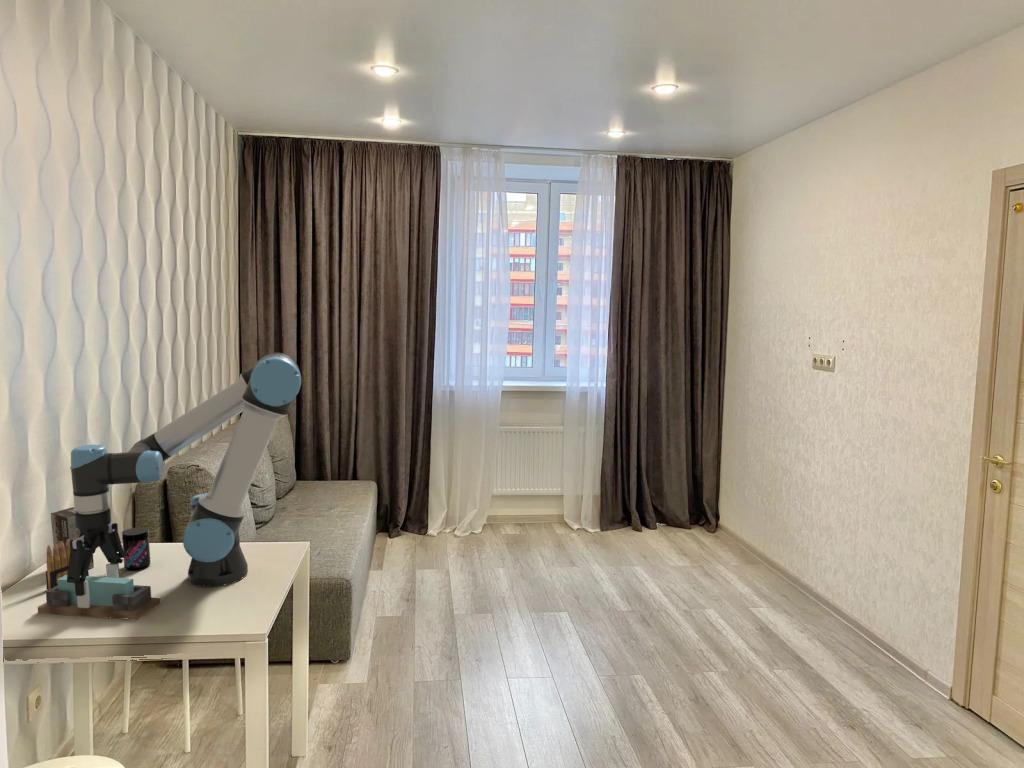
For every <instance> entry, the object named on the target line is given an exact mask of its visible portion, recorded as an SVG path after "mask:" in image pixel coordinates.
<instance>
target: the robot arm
mask: <svg viewBox="0 0 1024 768" xmlns="http://www.w3.org/2000/svg"><path fill="white" fill-rule="evenodd" d="M301 386H302V375H301V370H300V367H299V365H298V364H297V362H296V360H295V359H294V358H292V357H291V356H290V355H288V354H285V353H282V352H270V353H267V354H266V355H264V356H262V357H261V358H260V359H259V360H257V362H256V363H254V364H253V365H252V366H250V367H249V368H248V369H246V370H245V371H243V372H242V373H240V375H239V379H237V380H236V381H235V382H233V383H231V384H230V385H228V386H226V387H225V388H224V389H222V390H220V391H219V392H217V393H216V394H213V395H212V396H211V397H208V399H205V400H204V401H203V402H201V403H199V404H198V405H197V406H195V407H193V408H192V409H190V410H189V411H187V412H184V413H183V414H182V415H181V416H179V417H177V418H175V419H174V420H173V421H171V422H169V423H167V424H166V425H164V426H162V427H161V428H159V429H158V430H156V431H155V432H154V433H151V434H150V435H148V436H146V437H145V438H143V439H139V440H138V441H137V442H136V443H134V444H133V445H132V446H131V448H130V449H129V450H128V451H127V452H126V451H125V452H113V453H112V452H108V451H107V448H106V446H105V445H103V444H85V445H84V444H83V445H80V446H76V447H74V448H73V449H72V450H71V451H70V474H71V481H72V482H71V483H72V494H73V506H74V507H73V508H74V509H75V511H77V512H76V513H75V525H76V527H77V528H78V529H79V530H80V535H79V538H78V539H76V540H70V542H69V544H70V557H69V566H68V574H67V582H68V583H74V584H75V593H76V596H77V604H78V608H89V607H90V596H89V583H88V581H85V580H86V576H87V572H89V565H90V561H91V558H92V554H93V555H94V554H95V553H96V551H97V549H98V548H99V549H100V550H101V552H102V554H103V555H104V557H105V559H106V560H107V562H108V563H107V564H105V570H106V577H112V578H120V576H119V575H120V566H119V564H122V563H124V556H125V555H124V551H123V543H122V540H121V538H120V534H119V531H118V529H119V527H118V525H119V524H118V523H116V522H112V512H111V509H110V507H111V497H110V487H109V485H123V484H127V485H128V484H148V483H151V482H158V481H160V480H161V479H162V478H163V473H164V462H165V461H167V460H168V459H170V458H171V457H173V456H175V455H176V454H178V453H179V452H181V451H183V450H184V449H185V448H187V447H188V446H190V445H191V444H193V443H195V442H197V441H198V440H200V439H201V438H203V437H204V436H206V435H207V434H209V433H211V432H213V431H215V430H216V429H217V428H219V427H220V426H222V425H223V424H225V423H226V422H229V421H230V420H231V419H233V418H235V417H236V416H238V415H239V414H241V416H240V418H239V421H238V422H237V425H236V427H235V429H234V432H233V434H232V436H231V439H230V441H229V443H228V446H227V448H226V451H225V454H224V456H223V458H222V461H221V463H220V465H219V467H218V470H217V472H216V474H215V477H214V478H213V482H212V483H211V487H210V488H209V491H208V492H206V493H200V494H197V495H194V496H192V497H191V500H190V505H189V507H190V508H191V509H190V510H191V516H190V519H189V521H188V524H187V526H186V528H185V529H184V531H183V535H182V545H183V549H184V550H185V552H186V553H187V554H188V556H189V557H191V559H190V560H191V561H190V563H189V566H188V570H187V579H188V583H190V584H191V585H193V586H196V587H205V588H206V587H220V586H224V584H226V585H230V584H232V582H233V583H235V582H234V581H236V582H238V581H240V580H242V579H243V578H242V577H244V576H245V575H246V574H247V572H248V573H249V568H248V567H249V565H248V562H247V559H246V558H245V555H244V552H243V549H242V547H241V543H240V542H241V541H240V540H241V539H240V526H241V524H242V521H243V519H244V517H245V515H246V513H245V510H244V508H243V503H244V501H245V498H246V496H247V494H248V491H249V489H250V487H251V485H252V482H253V480H254V478H255V476H256V472H257V471H258V468H259V467H260V466H259V465H260V463H261V460H262V458H263V456H264V453H265V452H266V449H267V447H268V445H269V442H270V440H271V437H272V435H273V433H274V430H275V428H276V425H277V424H278V421H279V420H280V419H282V418H285V417H286V416H288V413H289V411H290V409H291V406H292V405H293V401H294V399H295V398H296V396H298V394H299V393H300V390H301ZM85 548H87V549H85ZM247 575H248V574H247ZM247 575H246V576H247ZM80 576H81V577H80ZM246 576H245V577H246ZM245 577H244V578H245ZM241 578H242V579H241ZM239 579H240V580H239ZM237 580H238V581H237ZM229 583H230V584H229Z"/></svg>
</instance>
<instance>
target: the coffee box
mask: <svg viewBox="0 0 1024 768" xmlns="http://www.w3.org/2000/svg"><path fill="white" fill-rule="evenodd" d="M76 512H77V511H75V509H74V507H68V508H64V509H62V510H58V511H55V512H51V513H50V521H51V522H50V523H51V530H52V531H51V532H52V542H53V545H54V543H56V544H57V547H58V551H59V555H60V542H61V541H62V542H63V544H64V547H65V554H66V541H67V539H69V541H70V540H73V537H75V538H76V539H78V538H79V535H80V530H79V529H78V528H77V527H76V525H75V513H76ZM85 549H87V548H85ZM94 568H95V563H94V553H93V554H92V558H91V561H90V565H89V569H94ZM89 569H88V570H89Z"/></svg>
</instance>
